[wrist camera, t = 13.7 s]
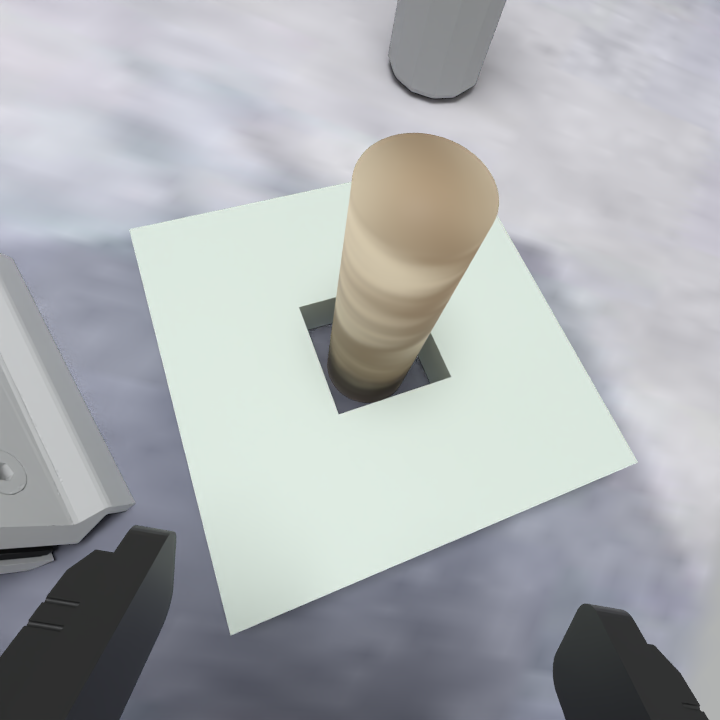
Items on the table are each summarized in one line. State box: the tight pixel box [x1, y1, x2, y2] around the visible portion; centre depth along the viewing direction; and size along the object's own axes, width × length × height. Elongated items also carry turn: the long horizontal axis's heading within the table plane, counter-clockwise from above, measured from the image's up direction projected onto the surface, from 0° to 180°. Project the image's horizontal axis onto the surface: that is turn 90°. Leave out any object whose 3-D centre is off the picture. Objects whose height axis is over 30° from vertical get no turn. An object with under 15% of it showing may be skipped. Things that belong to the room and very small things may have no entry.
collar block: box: [129, 182, 638, 635], centre depth 25 cm, size 20×20×3 cm
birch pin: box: [327, 133, 499, 403], centre depth 20 cm, size 4×4×14 cm
